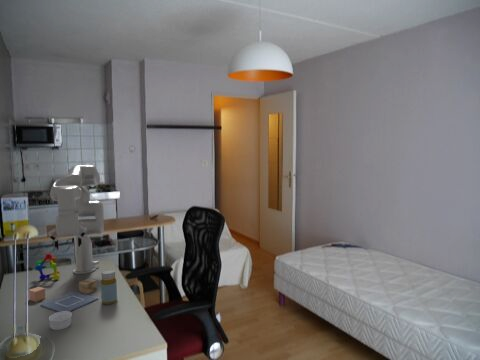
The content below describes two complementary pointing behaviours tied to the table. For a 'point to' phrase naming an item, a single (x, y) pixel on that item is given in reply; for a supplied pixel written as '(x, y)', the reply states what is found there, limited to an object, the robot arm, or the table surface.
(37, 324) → the table surface
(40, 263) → the educational toy
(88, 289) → the oak block
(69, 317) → the ramekin
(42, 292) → the terracotta cube
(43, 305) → the board
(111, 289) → the bottle
